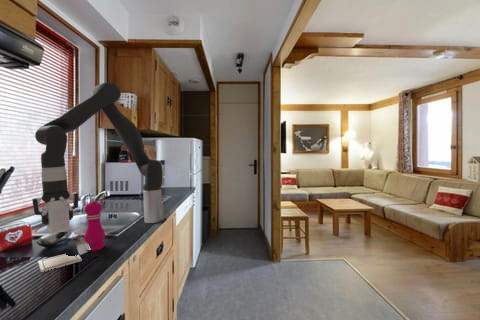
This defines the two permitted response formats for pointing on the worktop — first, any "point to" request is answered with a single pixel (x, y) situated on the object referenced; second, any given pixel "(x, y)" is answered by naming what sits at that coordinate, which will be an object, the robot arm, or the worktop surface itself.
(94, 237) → the pepper mill
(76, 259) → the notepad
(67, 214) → the skincare box
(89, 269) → the worktop surface
